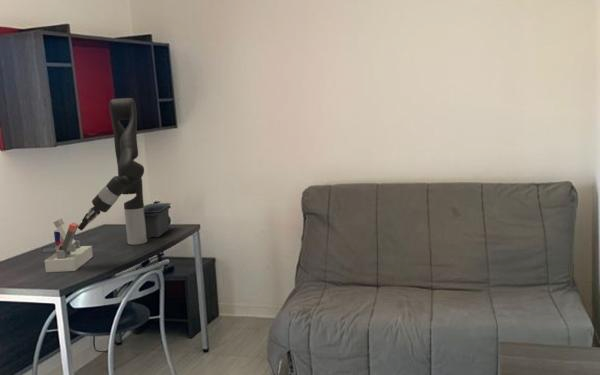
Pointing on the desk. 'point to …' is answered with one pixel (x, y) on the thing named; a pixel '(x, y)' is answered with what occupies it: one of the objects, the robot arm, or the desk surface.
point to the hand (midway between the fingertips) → (79, 228)
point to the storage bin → (156, 219)
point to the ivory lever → (62, 229)
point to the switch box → (69, 258)
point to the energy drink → (58, 240)
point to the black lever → (69, 237)
